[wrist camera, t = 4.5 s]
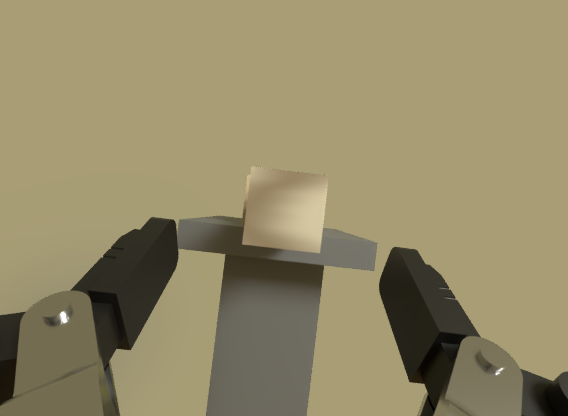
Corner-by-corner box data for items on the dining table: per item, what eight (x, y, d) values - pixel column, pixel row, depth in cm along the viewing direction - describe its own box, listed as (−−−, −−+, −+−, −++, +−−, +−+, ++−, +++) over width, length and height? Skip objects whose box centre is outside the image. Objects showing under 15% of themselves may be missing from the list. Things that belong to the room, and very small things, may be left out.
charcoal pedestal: (121, 685, 19) (179, 219, 20) (186, 485, 33) (219, 215, 34) (324, 701, 20) (377, 242, 20) (304, 496, 34) (335, 229, 34)
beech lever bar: (202, 239, 11) (215, 135, 11) (251, 220, 32) (255, 185, 32) (358, 257, 11) (370, 155, 11) (304, 226, 32) (308, 191, 32)
